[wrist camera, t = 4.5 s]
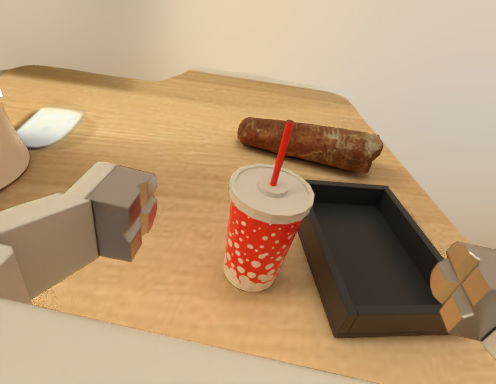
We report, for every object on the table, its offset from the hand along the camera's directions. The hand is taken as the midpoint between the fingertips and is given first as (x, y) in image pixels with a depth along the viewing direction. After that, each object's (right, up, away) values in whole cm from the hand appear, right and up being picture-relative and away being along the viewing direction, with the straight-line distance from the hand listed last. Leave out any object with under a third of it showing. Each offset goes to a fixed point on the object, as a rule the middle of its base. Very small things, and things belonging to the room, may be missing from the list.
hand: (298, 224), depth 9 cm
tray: (+10, -5, +23) cm, 26 cm away
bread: (+6, +5, +37) cm, 38 cm away
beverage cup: (-1, -6, +19) cm, 21 cm away
